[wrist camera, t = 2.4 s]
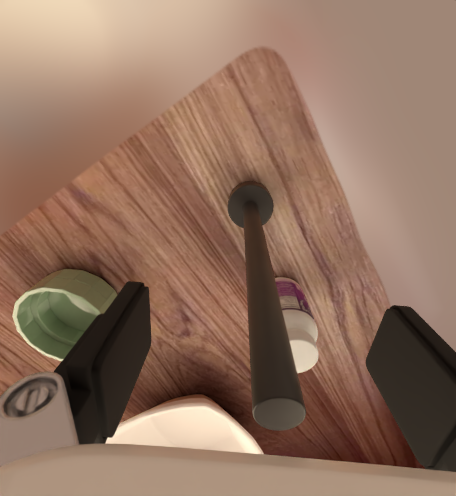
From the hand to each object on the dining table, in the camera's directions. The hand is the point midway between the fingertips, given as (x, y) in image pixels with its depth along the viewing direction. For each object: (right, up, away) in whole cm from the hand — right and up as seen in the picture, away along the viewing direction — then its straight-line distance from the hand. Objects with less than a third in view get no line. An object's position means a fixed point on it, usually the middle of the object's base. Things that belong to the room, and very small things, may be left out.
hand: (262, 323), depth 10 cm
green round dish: (-20, -4, +23) cm, 31 cm away
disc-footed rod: (+1, +8, +17) cm, 18 cm away
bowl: (-7, -25, +32) cm, 42 cm away
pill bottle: (+5, -2, +21) cm, 22 cm away
